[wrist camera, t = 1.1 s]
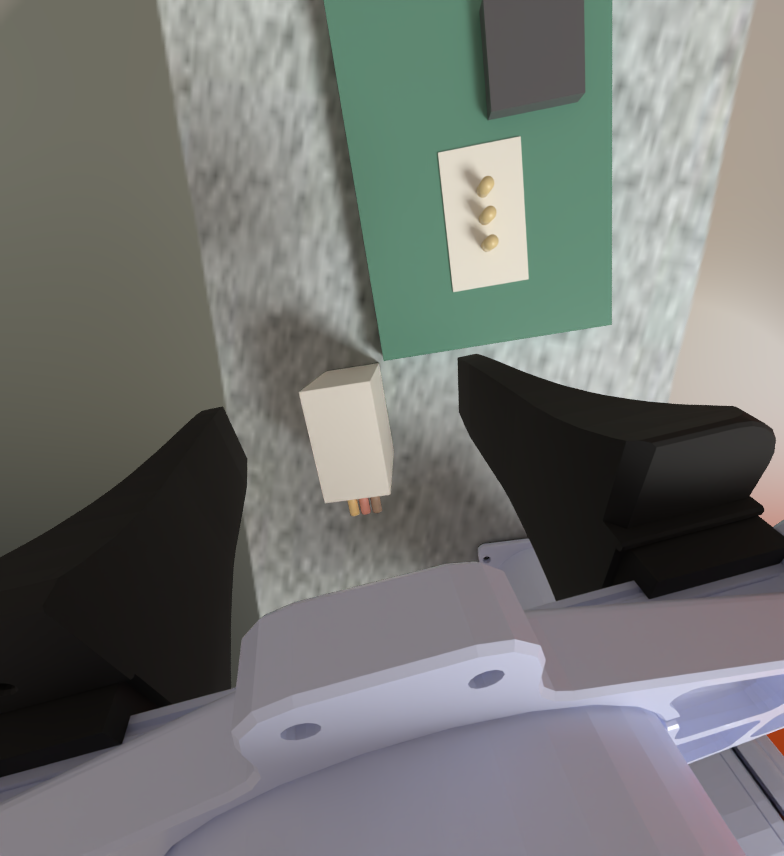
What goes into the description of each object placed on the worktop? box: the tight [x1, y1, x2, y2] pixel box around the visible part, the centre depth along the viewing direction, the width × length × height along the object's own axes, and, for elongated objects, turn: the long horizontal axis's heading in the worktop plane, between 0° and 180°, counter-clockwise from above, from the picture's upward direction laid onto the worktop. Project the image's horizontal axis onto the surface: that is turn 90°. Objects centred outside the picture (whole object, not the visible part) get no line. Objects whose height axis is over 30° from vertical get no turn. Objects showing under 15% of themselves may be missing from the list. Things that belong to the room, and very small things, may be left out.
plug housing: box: [299, 363, 394, 516], centre depth 21 cm, size 7×3×6 cm, turn 9°
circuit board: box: [324, 0, 612, 361], centre depth 18 cm, size 16×12×3 cm
